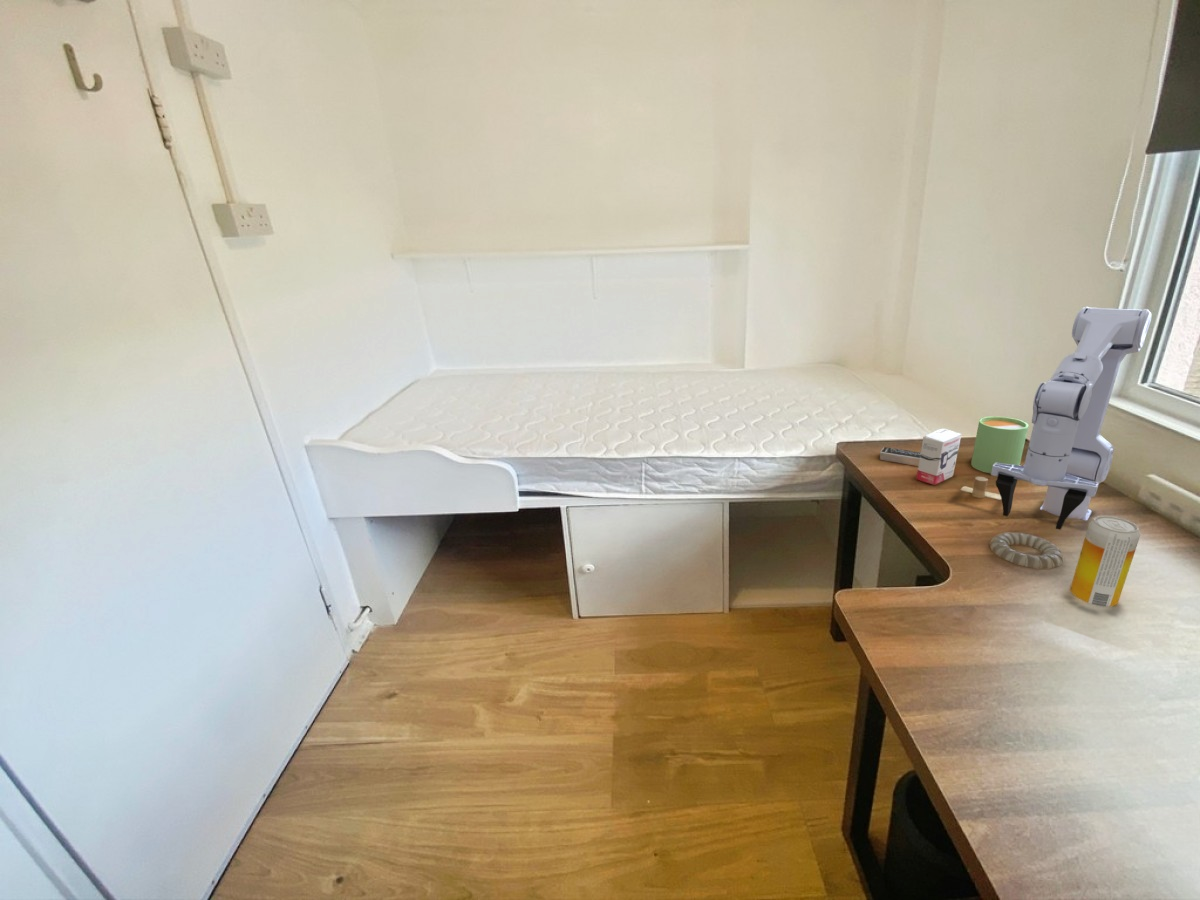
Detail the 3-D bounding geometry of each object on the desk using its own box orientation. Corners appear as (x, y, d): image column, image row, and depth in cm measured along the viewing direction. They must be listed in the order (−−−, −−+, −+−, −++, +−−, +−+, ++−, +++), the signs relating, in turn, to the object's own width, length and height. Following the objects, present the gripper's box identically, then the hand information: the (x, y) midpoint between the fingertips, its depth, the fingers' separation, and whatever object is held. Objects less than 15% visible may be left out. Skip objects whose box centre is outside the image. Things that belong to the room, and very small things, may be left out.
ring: (997, 536, 112) (1000, 523, 111) (1067, 556, 104) (1071, 542, 103) (980, 560, 105) (983, 546, 104) (1054, 583, 98) (1058, 568, 96)
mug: (1029, 473, 137) (1040, 428, 133) (986, 476, 138) (995, 430, 133) (996, 454, 149) (1005, 412, 144) (957, 456, 149) (964, 414, 145)
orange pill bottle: (1105, 593, 94) (1130, 516, 88) (1123, 616, 89) (1150, 535, 83) (1062, 588, 96) (1083, 512, 90) (1077, 610, 91) (1101, 531, 85)
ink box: (935, 486, 135) (943, 441, 130) (915, 479, 139) (922, 435, 134) (953, 476, 139) (962, 432, 134) (933, 470, 143) (941, 427, 138)
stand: (962, 490, 132) (966, 468, 129) (1002, 499, 126) (1007, 477, 124) (951, 502, 127) (955, 480, 125) (992, 512, 121) (997, 489, 119)
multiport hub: (924, 467, 145) (925, 459, 144) (879, 459, 151) (880, 451, 150) (927, 461, 148) (928, 453, 147) (883, 454, 154) (883, 446, 154)
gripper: (992, 448, 97) (978, 516, 102) (1101, 468, 86) (1079, 543, 91) (1003, 436, 101) (989, 502, 106) (1108, 454, 91) (1087, 526, 96)
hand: (1032, 520), depth 99 cm, fingers open, 7 cm apart
